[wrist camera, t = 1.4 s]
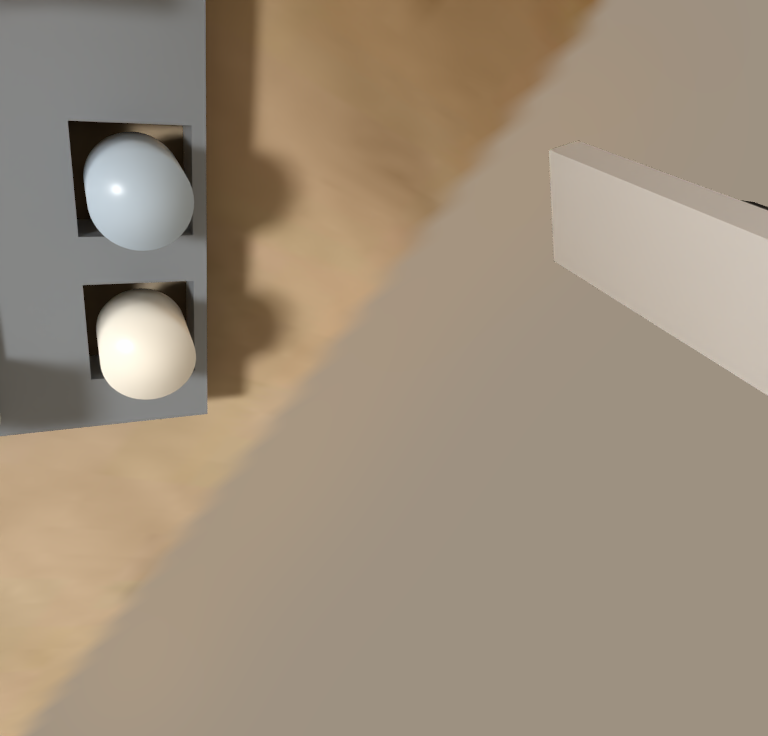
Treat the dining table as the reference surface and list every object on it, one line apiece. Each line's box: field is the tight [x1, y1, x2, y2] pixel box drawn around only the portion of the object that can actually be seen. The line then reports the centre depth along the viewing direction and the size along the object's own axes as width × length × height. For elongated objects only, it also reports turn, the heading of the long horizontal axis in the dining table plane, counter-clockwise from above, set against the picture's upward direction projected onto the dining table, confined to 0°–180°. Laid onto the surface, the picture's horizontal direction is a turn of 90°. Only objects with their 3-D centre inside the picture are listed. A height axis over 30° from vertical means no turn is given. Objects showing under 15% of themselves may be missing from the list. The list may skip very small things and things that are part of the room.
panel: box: [0, 0, 207, 436], centre depth 30 cm, size 16×24×3 cm, turn 173°
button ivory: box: [96, 288, 196, 400], centre depth 33 cm, size 4×4×3 cm
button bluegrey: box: [83, 132, 194, 251], centre depth 30 cm, size 4×4×3 cm
